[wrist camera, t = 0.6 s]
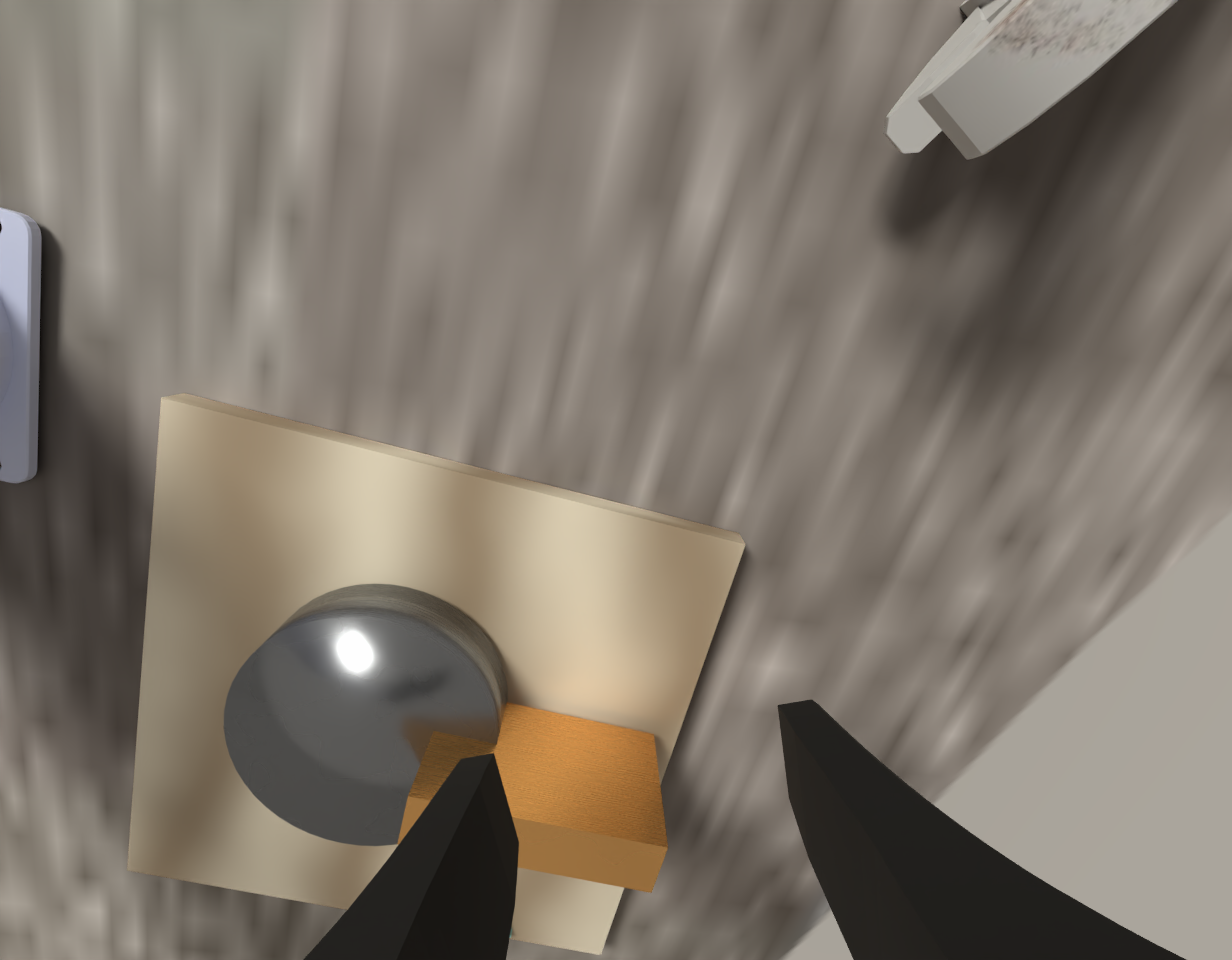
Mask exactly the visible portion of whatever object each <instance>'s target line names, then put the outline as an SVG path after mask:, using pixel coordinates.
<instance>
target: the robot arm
mask: <svg viewBox="0 0 1232 960" xmlns="http://www.w3.org/2000/svg"><path fill="white" fill-rule="evenodd" d="M0 222H1V226H2V230H1V233H0V462H1V466H2V467H0V481H5V482H9V483H21V482H24V481H27V480H30V479H32V478H33V477H34V476H35V475H36V472H37V456H38V402H39V347H40V293H41V238H42V237H41V231H40V228H39V227H38V225H37V223H36V222H35V221H34V220H33V219H32V218H31V217H29V216H27V215H25V214H23V213H20V212H16V211H12V210H9V209H5V208H1V207H0ZM778 712H779V720H780V728H781V736H782V745H783V753H784V761H785V769H786V777H787V785H788V794H789V799H790V803H791V806H792V809H793V812H794V815H795V818H796V821H797V824H798V827H799V830H800V833H801V836H802V839H803V842H804V845H805V848H806V851H807V854H808V857H809V860H810V862H811V864H812V867H813V869H814V871H815V873H816V876H817V878H818V880H819V883H820V885H821V887H822V889H823V892H824V894H825V896H826V898H827V901H828V903H829V905H830V908H831V910H832V912H833V914H834V916H835V919H836V921H837V923H838V925H839V928H840V930H841V932H842V934H843V936H844V939H845V941H846V943H847V946H848V948H849V950H850V952H851V954H852V957H853V959H854V960H1186V959H1184V958H1182V957H1180V956H1178V955H1176V954H1174V953H1172V952H1170V951H1168V950H1166V949H1164V948H1162V947H1160V946H1158V945H1156V944H1154V943H1152V942H1150V941H1149V940H1147V939H1145V938H1143V937H1141V936H1139V935H1137V934H1136V933H1134V932H1132V931H1130V930H1128V929H1126V928H1124V927H1122V926H1120V925H1119V924H1117V923H1115V922H1114V921H1112V920H1110V919H1108V918H1107V917H1105V916H1103V915H1101V914H1100V913H1098V912H1096V911H1094V910H1093V909H1091V908H1089V907H1087V906H1085V905H1084V904H1082V903H1080V902H1078V901H1077V900H1075V899H1073V898H1072V897H1070V896H1068V895H1066V894H1065V893H1063V892H1061V891H1059V890H1057V889H1056V888H1054V887H1052V886H1051V885H1049V884H1048V883H1046V882H1044V881H1043V880H1041V879H1039V878H1038V877H1036V876H1034V875H1033V874H1031V873H1029V872H1028V871H1026V870H1025V869H1023V868H1022V867H1020V866H1019V865H1017V864H1016V863H1014V862H1013V861H1011V860H1009V859H1008V858H1007V857H1005V856H1004V855H1002V854H1001V853H999V852H998V851H996V850H995V849H993V848H992V847H990V846H989V845H987V844H986V843H984V842H983V841H981V840H980V839H979V838H977V837H976V836H975V835H973V834H972V833H970V832H969V831H968V830H966V829H965V828H963V827H962V826H961V825H959V824H958V823H957V822H955V821H954V820H953V819H951V818H950V817H949V816H947V815H946V814H945V813H943V812H942V811H940V810H939V809H938V808H937V807H935V806H934V805H933V804H931V803H930V802H929V801H928V800H926V799H925V798H924V797H922V796H921V795H920V794H919V793H917V792H916V791H915V790H914V789H912V788H911V787H910V786H909V785H908V784H906V783H905V782H904V781H903V780H902V779H900V778H899V777H898V776H897V775H896V774H894V773H893V772H892V771H891V770H890V769H888V768H887V767H886V766H885V765H884V764H883V763H881V762H880V761H879V760H878V759H877V758H876V757H874V756H873V755H872V754H871V753H870V752H869V751H868V750H866V749H865V748H864V747H863V746H862V745H861V744H860V743H859V742H858V741H857V740H855V739H854V738H853V737H852V736H851V735H850V734H849V733H848V732H847V731H846V730H845V729H843V728H842V727H841V726H840V725H839V724H838V723H837V722H836V721H835V720H834V719H833V718H832V717H831V716H830V715H829V714H828V713H827V712H826V711H825V710H824V709H823V708H822V707H821V706H820V705H819V704H817V703H816V702H814V701H813V700H806V701H800V702H794V703H788V704H782V705H778ZM518 854H519V840H518V837H517V833H516V829H515V826H514V822H513V819H512V815H511V812H510V808H509V805H508V801H507V797H506V794H505V790H504V787H503V783H502V780H501V776H500V773H499V769H498V765H497V762H496V758H495V755H494V753H492V754H486V755H480V756H474V757H468V758H462V759H461V760H460V761H459V762H458V764H457V765H456V766H455V768H454V769H453V770H452V772H451V773H450V774H449V776H448V777H447V779H446V780H445V781H444V783H443V784H442V786H441V787H440V788H439V790H438V791H437V793H436V794H435V795H434V797H433V798H432V800H431V801H430V802H429V804H428V805H427V807H426V808H425V809H424V811H423V812H422V814H421V815H420V816H419V818H418V819H417V820H416V822H415V823H414V825H413V826H412V827H411V829H410V830H409V831H408V833H407V834H406V835H405V837H404V838H403V839H402V841H401V842H400V843H399V845H398V846H397V847H396V849H395V850H394V852H393V853H392V854H391V856H390V857H389V858H388V860H387V861H386V862H385V864H384V865H383V866H382V867H381V869H380V870H379V871H378V872H377V874H376V875H375V876H374V877H373V879H372V880H371V881H370V882H369V884H368V885H367V886H366V887H365V889H364V890H363V891H362V892H361V894H360V895H359V896H358V897H357V899H356V900H355V901H354V902H353V904H352V905H351V906H350V907H349V908H348V910H347V911H346V912H345V913H344V915H343V916H342V917H341V918H340V919H339V920H338V922H337V923H336V924H335V925H334V926H333V927H332V929H331V930H330V931H329V932H328V933H327V934H326V935H325V937H324V938H323V939H322V940H321V941H320V942H319V943H318V944H317V946H316V947H315V948H314V949H313V950H312V951H311V952H310V953H309V954H308V955H307V956H306V957H305V959H304V960H506V955H507V949H508V944H509V938H510V932H511V926H512V920H513V914H514V908H515V898H516V885H517V871H518Z"/></svg>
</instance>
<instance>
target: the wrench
mask: <svg viewBox="0 0 1232 960" xmlns="http://www.w3.org/2000/svg"><path fill="white" fill-rule="evenodd" d="M1177 1H1178V0H965V1H964V2H963V4H962V5H961V6H960V8H961V10H962V11H963V12H964V13H965V15H966V16H967V17H968V18H967V19H966V20H965V21H964V23H963V24H962V25H961V26H960V27H959V28H958V29H957V30H956V32H955V33H954V34H953V35H952V36H951V37H950V38H949V40H948V41H947V42H946V43H945V44H944V45H943V46H942V48H941V49H940V50H939V51H938V52H937V53H936V54H935V56H934V57H933V58H932V59H931V60H930V61H929V63H928V64H927V65H926V66H925V67H924V69H923V70H922V71H921V72H920V74H919V75H918V76H917V77H916V79H915V80H914V81H913V82H912V84H911V85H910V86H909V87H908V89H907V90H906V91H905V92H904V94H903V95H902V96H901V98H900V99H899V100H898V102H897V103H896V104H895V106H894V107H893V108H892V110H891V111H890V112H889V114H888V115H887V116H886V121H885V127H884V134H885V136H886V137H887V138H888V139H889V140H890V141H891V142H892V144H893V145H894V146H895V147H896V148H897V149H898V151H899V152H901V153H918V152H920V151H921V150H922V149H923V148H924V147H925V146H926V145H927V144H928V143H929V142H931V141H932V140H933V139H934V138H935V137H936V136H937V135H938V134H939V133H940V132H941V131H943V132H944V133H945V134H946V135H947V137H948V138H949V139H950V140H951V141H952V143H953V144H954V145H955V146H956V147H957V149H958V150H959V151H960V152H961V153H962V154H963V156H964V157H965V158H966V159H967V160H968V159H973V158H976V157H979V156H982V155H985V154H987V153H988V152H990V151H991V150H993V149H994V148H996V147H997V146H999V145H1000V144H1001V143H1003V142H1004V141H1006V140H1007V139H1009V138H1010V137H1012V136H1013V135H1015V134H1016V133H1018V132H1019V131H1021V130H1022V129H1023V128H1025V127H1026V126H1028V125H1029V124H1031V123H1032V122H1033V121H1034V120H1036V119H1037V118H1038V117H1040V116H1041V115H1042V114H1043V113H1045V112H1046V111H1047V110H1049V109H1050V108H1051V107H1052V106H1054V105H1055V104H1056V103H1058V102H1059V101H1060V100H1061V99H1063V98H1064V97H1065V96H1067V95H1068V94H1069V93H1070V92H1072V91H1073V90H1074V89H1076V88H1077V87H1078V86H1079V85H1081V84H1082V83H1083V82H1085V81H1086V80H1087V79H1088V78H1090V77H1091V76H1092V75H1093V74H1094V73H1095V72H1097V71H1098V70H1099V69H1100V68H1101V67H1102V66H1104V65H1105V64H1106V63H1107V62H1108V61H1109V60H1110V59H1112V58H1113V57H1114V56H1115V55H1116V54H1117V53H1118V52H1120V51H1121V50H1122V49H1123V48H1124V47H1125V46H1126V45H1128V44H1129V43H1130V42H1131V41H1132V40H1133V39H1135V38H1136V37H1137V36H1138V35H1139V34H1140V33H1141V32H1143V31H1144V30H1145V29H1146V28H1147V27H1148V26H1149V25H1151V24H1152V23H1153V22H1154V21H1155V20H1156V19H1157V18H1159V17H1160V16H1161V15H1162V14H1163V13H1164V12H1165V11H1167V10H1168V9H1169V8H1170V7H1171V6H1172V5H1174V4H1175V3H1176V2H1177Z"/></svg>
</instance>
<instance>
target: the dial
mask: <svg viewBox="0 0 1232 960" xmlns="http://www.w3.org/2000/svg"><path fill="white" fill-rule="evenodd" d="M224 733H225V741H226V745H227V748H228V752H229V755H230V758H231V760H232V762H233V764H234V767H235V769H236V771H237V772H238V774H239V776H240V777H241V779H242V780H243V782H244V784H245V785H246V786H247V787H248V788H249V790H250V791H251V792H252V793H253V795H254V796H255V797H256V798H257V799H258V800H259V801H260V802H261V803H262V804H263V805H264V806H265V807H267V808H268V809H269V810H270V811H272V812H273V813H274V814H276V815H277V816H278V817H280V818H281V819H283V820H285V821H286V822H288V823H289V824H291V825H293V826H294V827H297V828H299V829H301V830H303V831H305V832H307V833H309V834H312V835H315V836H318V837H321V838H323V839H327V840H331V841H335V842H339V843H344V844H351V845H359V846H385V845H395V844H398V845H399V843H400V842H401V841H402V839H403V838H404V837H405V835H406V834H407V833H408V831H409V830H410V829H411V827H412V826H413V825H414V823H415V822H416V820H417V819H418V818H419V816H420V815H421V814H422V812H423V811H424V809H425V808H426V807H427V805H428V804H429V802H430V801H431V800H432V798H433V797H434V795H435V794H436V793H437V791H438V790H439V788H440V787H441V786H442V784H443V783H444V781H445V780H446V779H447V777H448V776H449V774H450V773H451V772H452V770H453V769H454V768H455V766H456V765H457V764H458V762H459V761H460V760H461V759H462V758H468V757H474V756H480V755H486V754H492V753H494V755H495V758H496V762H497V765H498V769H499V773H500V776H501V780H502V783H503V787H504V790H505V794H506V797H507V801H508V805H509V808H510V812H511V815H512V819H513V822H514V826H515V829H516V833H517V837H518V840H519V854H518V867H519V868H524V869H529V870H534V871H540V872H545V873H550V874H555V875H561V876H566V877H571V878H576V879H582V880H587V881H592V882H597V883H603V884H608V885H613V886H618V887H624V888H629V889H634V890H639V891H645V892H650V893H652V890H653V887H654V884H655V882H656V879H657V876H658V874H659V871H660V868H661V865H662V863H663V860H664V857H665V855H666V852H667V849H668V844H667V836H666V828H665V820H664V812H663V804H662V796H661V788H660V780H659V772H658V764H657V756H656V748H655V740H654V734H651V733H647V732H642V731H637V730H633V729H628V728H624V727H619V726H614V725H610V724H605V723H600V722H596V721H591V720H587V719H582V718H577V717H573V716H568V715H563V714H559V713H554V712H550V711H545V710H540V709H536V708H531V707H526V706H522V705H517V704H513V703H508V689H507V681H506V676H505V673H504V669H503V665H502V663H501V661H500V659H499V656H498V654H497V652H496V650H495V649H494V647H493V645H492V644H491V642H490V640H489V639H488V638H487V637H486V635H485V634H484V633H483V632H482V630H481V629H480V628H479V627H478V626H477V625H476V624H475V623H474V622H473V621H472V620H471V619H470V618H469V617H468V616H466V615H465V614H464V613H462V612H461V611H459V610H458V609H457V608H455V607H454V606H452V605H450V604H449V603H447V602H445V601H443V600H442V599H440V598H437V597H435V596H433V595H430V594H428V593H426V592H423V591H419V590H416V589H412V588H409V587H404V586H398V585H392V584H360V585H354V586H348V587H343V588H340V589H336V590H333V591H330V592H327V593H325V594H323V595H321V596H319V597H317V598H315V599H313V600H311V601H310V602H308V603H307V604H305V605H303V606H302V607H300V608H299V609H298V610H297V611H296V612H295V613H294V614H293V615H291V616H290V617H289V618H288V619H287V620H286V621H285V622H284V623H283V624H282V625H281V626H280V627H279V628H278V629H277V630H276V631H275V632H274V633H273V634H272V635H271V636H270V637H269V638H268V639H267V640H266V641H265V642H264V643H263V644H262V645H261V646H260V647H259V648H258V649H257V650H256V651H255V652H254V653H253V654H252V655H251V656H250V657H249V658H248V659H247V661H246V662H245V663H244V664H243V665H242V667H241V668H240V669H239V671H238V673H237V675H236V676H235V678H234V680H233V681H232V684H231V687H230V689H229V692H228V695H227V698H226V703H225V708H224Z"/></svg>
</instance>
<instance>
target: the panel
mask: <svg viewBox="0 0 1232 960" xmlns="http://www.w3.org/2000/svg"><path fill="white" fill-rule="evenodd" d="M745 545H746V544H745V543H744V541H743V539H742V538H741V536H740V535H739V533H736V532H732V531H728V530H724V529H720V528H716V527H712V526H708V525H704V524H700V523H696V522H692V521H688V520H684V519H680V518H676V517H672V516H668V515H664V514H660V513H657V512H653V511H649V510H645V509H641V508H637V507H633V506H629V505H625V504H621V503H617V502H613V501H609V500H605V499H601V498H597V497H593V496H589V495H585V494H581V493H577V492H573V491H569V490H566V489H562V488H558V487H554V486H550V485H546V484H542V483H538V482H534V481H530V480H526V479H522V478H518V477H514V476H510V475H506V474H502V473H498V472H494V471H490V470H486V469H482V468H478V467H474V466H471V465H467V464H463V463H459V462H455V461H451V460H447V459H443V458H439V457H435V456H431V455H427V454H423V453H419V452H415V451H411V450H407V449H403V448H399V447H395V446H391V445H387V444H383V443H380V442H376V441H372V440H368V439H364V438H360V437H356V436H352V435H348V434H344V433H340V432H336V431H332V430H328V429H324V428H320V427H316V426H312V425H308V424H304V423H300V422H296V421H292V420H289V419H285V418H281V417H277V416H273V415H269V414H265V413H261V412H257V411H253V410H249V409H245V408H241V407H237V406H233V405H229V404H225V403H221V402H217V401H213V400H209V399H205V398H201V397H197V396H194V395H190V394H186V393H182V394H177V395H172V396H167V397H162V398H161V408H160V422H159V436H158V450H157V463H156V477H155V491H154V505H153V519H152V532H151V546H150V560H149V574H148V588H147V601H146V615H145V629H144V643H143V657H142V670H141V684H140V698H139V712H138V726H137V739H136V753H135V767H134V781H133V795H132V808H131V822H130V836H129V850H128V864H127V871H133V872H138V873H144V874H150V875H155V876H161V877H166V878H172V879H178V880H183V881H189V882H194V883H200V884H206V885H211V886H217V887H222V888H228V889H234V890H239V891H245V892H250V893H256V894H262V895H267V896H273V897H278V898H284V899H290V900H295V901H301V902H306V903H312V904H318V905H323V906H329V907H334V908H340V909H346V910H348V908H349V907H350V906H351V905H352V904H353V902H354V901H355V900H356V899H357V897H358V896H359V895H360V894H361V892H362V891H363V890H364V889H365V887H366V886H367V885H368V884H369V882H370V881H371V880H372V879H373V877H374V876H375V875H376V874H377V872H378V871H379V870H380V869H381V867H382V866H383V865H384V864H385V862H386V861H387V860H388V858H389V857H390V856H391V854H392V853H393V852H394V850H395V849H396V847H397V846H398V844H395V845H385V846H359V845H351V844H344V843H339V842H335V841H331V840H327V839H323V838H321V837H318V836H315V835H312V834H309V833H307V832H305V831H303V830H301V829H299V828H297V827H294V826H293V825H291V824H289V823H288V822H286V821H285V820H283V819H281V818H280V817H278V816H277V815H276V814H274V813H273V812H272V811H270V810H269V809H268V808H267V807H265V806H264V805H263V804H262V803H261V802H260V801H259V800H258V799H257V798H256V797H255V796H254V795H253V793H252V792H251V791H250V790H249V788H248V787H247V786H246V785H245V784H244V782H243V780H242V779H241V777H240V776H239V774H238V772H237V771H236V769H235V767H234V764H233V762H232V760H231V758H230V755H229V752H228V748H227V745H226V741H225V733H224V708H225V703H226V698H227V695H228V692H229V689H230V687H231V684H232V681H233V680H234V678H235V676H236V675H237V673H238V671H239V669H240V668H241V667H242V665H243V664H244V663H245V662H246V661H247V659H248V658H249V657H250V656H251V655H252V654H253V653H254V652H255V651H256V650H257V649H258V648H259V647H260V646H261V645H262V644H263V643H264V642H265V641H266V640H267V639H268V638H269V637H270V636H271V635H272V634H273V633H274V632H275V631H276V630H277V629H278V628H279V627H280V626H281V625H282V624H283V623H284V622H285V621H286V620H287V619H288V618H289V617H290V616H291V615H293V614H294V613H295V612H296V611H297V610H298V609H299V608H300V607H302V606H303V605H305V604H307V603H308V602H310V601H311V600H313V599H315V598H317V597H319V596H321V595H323V594H325V593H327V592H330V591H333V590H336V589H340V588H343V587H348V586H354V585H360V584H392V585H398V586H404V587H409V588H412V589H416V590H419V591H423V592H426V593H428V594H430V595H433V596H435V597H437V598H440V599H442V600H443V601H445V602H447V603H449V604H450V605H452V606H454V607H455V608H457V609H458V610H459V611H461V612H462V613H464V614H465V615H466V616H468V617H469V618H470V619H471V620H472V621H473V622H474V623H475V624H476V625H477V626H478V627H479V628H480V629H481V630H482V632H483V633H484V634H485V635H486V637H487V638H488V639H489V640H490V642H491V644H492V645H493V647H494V649H495V650H496V652H497V654H498V656H499V659H500V661H501V663H502V665H503V669H504V673H505V676H506V681H507V689H508V703H513V704H517V705H522V706H526V707H531V708H536V709H540V710H545V711H550V712H554V713H559V714H563V715H568V716H573V717H577V718H582V719H587V720H591V721H596V722H600V723H605V724H610V725H614V726H619V727H624V728H628V729H633V730H637V731H642V732H647V733H651V734H654V740H655V748H656V756H657V764H658V772H659V780H660V785H661V783H662V780H663V777H664V774H665V771H666V768H667V766H668V763H669V760H670V757H671V754H672V751H673V749H674V746H675V743H676V740H677V737H678V734H679V732H680V729H681V726H682V723H683V720H684V717H685V715H686V712H687V709H688V706H689V703H690V700H691V698H692V695H693V692H694V689H695V686H696V683H697V681H698V678H699V675H700V672H701V669H702V667H703V664H704V661H705V658H706V655H707V652H708V650H709V647H710V644H711V641H712V638H713V635H714V633H715V630H716V627H717V624H718V621H719V618H720V616H721V613H722V610H723V607H724V604H725V601H726V599H727V596H728V593H729V590H730V587H731V584H732V582H733V579H734V576H735V573H736V570H737V567H738V565H739V562H740V559H741V556H742V553H743V550H744V548H745ZM623 890H624V887H618V886H613V885H608V884H603V883H597V882H592V881H587V880H582V879H576V878H571V877H566V876H561V875H555V874H550V873H545V872H540V871H534V870H529V869H524V868H519V867H518V871H517V885H516V898H515V908H514V914H513V920H512V926H511V928H512V935H511V938H509V939H514V940H519V941H525V942H530V943H536V944H542V945H547V946H553V947H558V948H564V949H570V950H575V951H581V952H586V953H592V954H598V955H601V953H602V950H603V947H604V944H605V941H606V938H607V936H608V933H609V930H610V927H611V924H612V921H613V919H614V916H615V913H616V910H617V907H618V904H619V902H620V899H621V896H622V893H623Z"/></svg>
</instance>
